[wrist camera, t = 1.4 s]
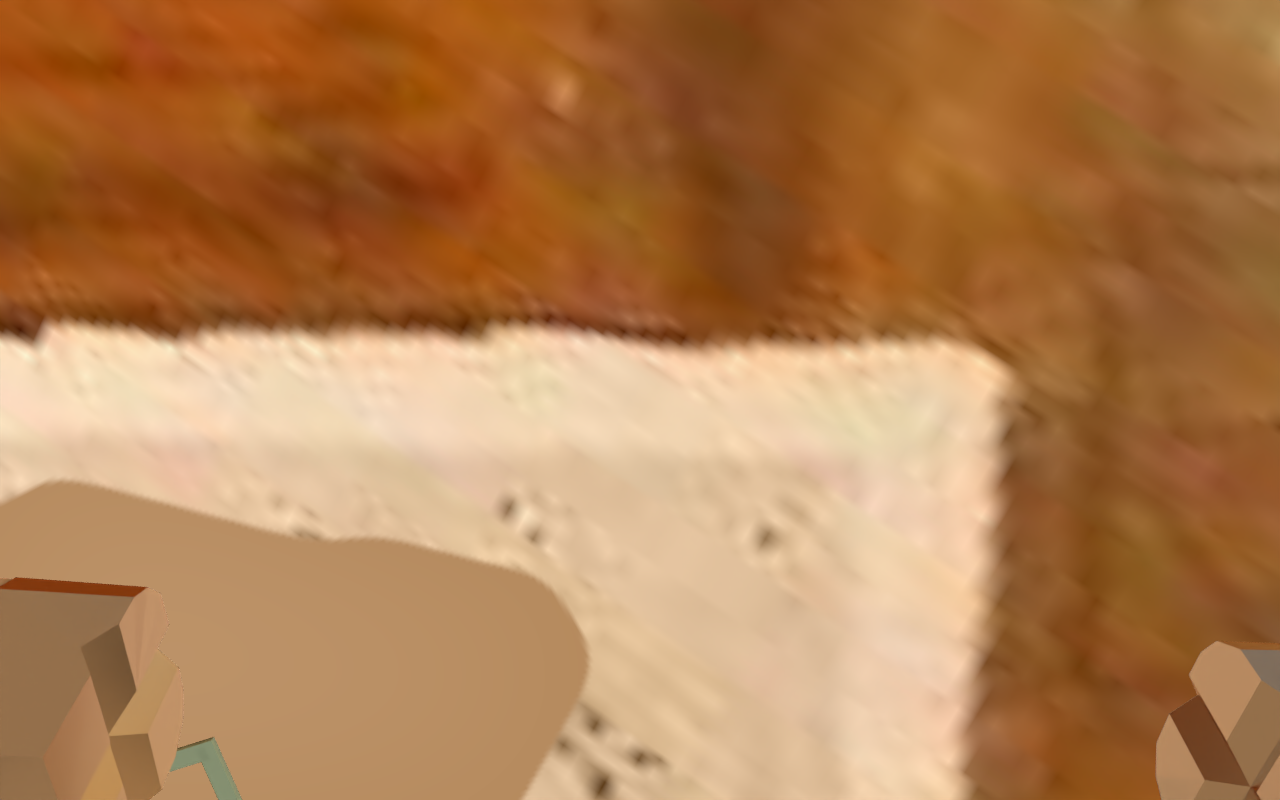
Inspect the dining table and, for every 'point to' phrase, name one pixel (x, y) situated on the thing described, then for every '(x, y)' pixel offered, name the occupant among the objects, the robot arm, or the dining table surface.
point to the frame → (208, 766)
